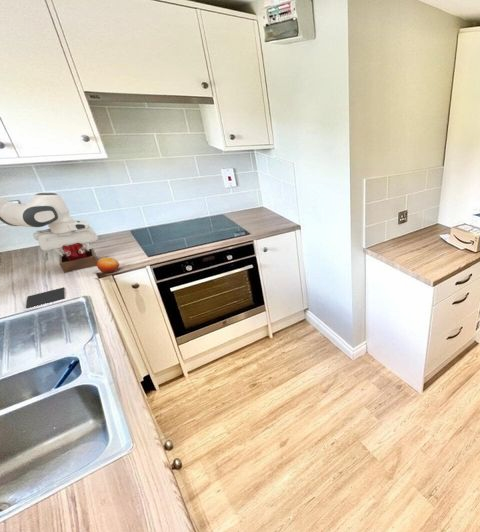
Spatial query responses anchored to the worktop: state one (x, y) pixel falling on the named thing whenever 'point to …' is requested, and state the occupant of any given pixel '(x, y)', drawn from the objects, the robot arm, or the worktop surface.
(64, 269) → the basket
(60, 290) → the mat
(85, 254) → the soda can
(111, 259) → the fruit
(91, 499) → the worktop surface
